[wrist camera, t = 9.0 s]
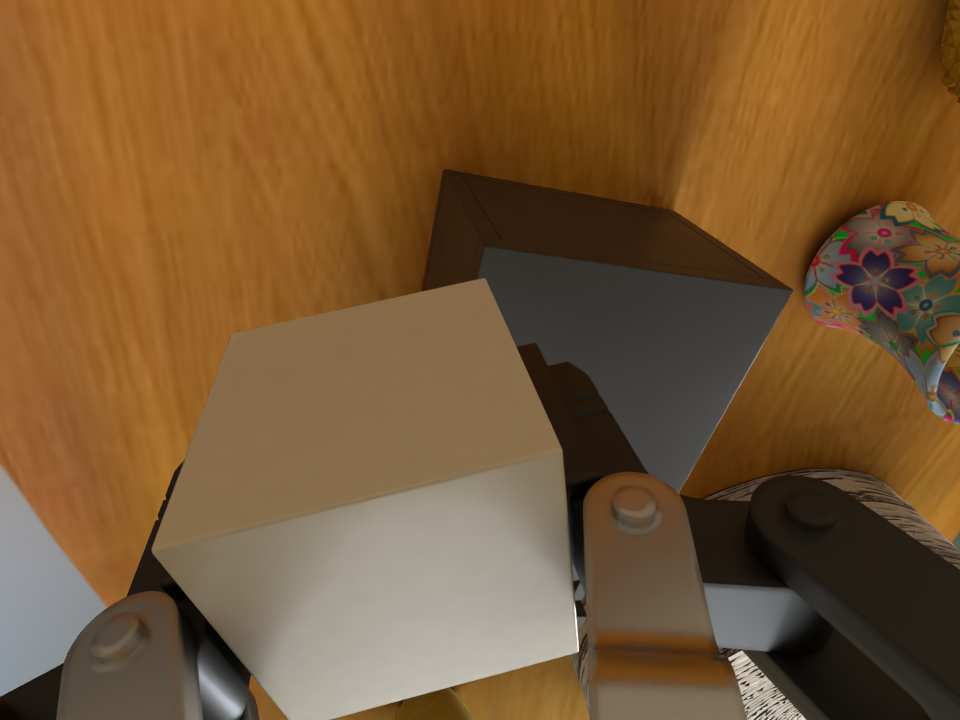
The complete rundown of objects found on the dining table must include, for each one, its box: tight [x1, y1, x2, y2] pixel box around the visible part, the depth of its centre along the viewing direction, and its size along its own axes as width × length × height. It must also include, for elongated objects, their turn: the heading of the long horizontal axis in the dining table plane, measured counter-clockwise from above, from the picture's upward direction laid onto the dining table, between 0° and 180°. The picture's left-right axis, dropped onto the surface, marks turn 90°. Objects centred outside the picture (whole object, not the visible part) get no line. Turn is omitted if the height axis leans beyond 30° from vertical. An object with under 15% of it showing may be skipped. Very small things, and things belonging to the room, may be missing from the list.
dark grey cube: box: [422, 169, 793, 494], centre depth 27 cm, size 15×13×10 cm
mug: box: [804, 201, 960, 424], centre depth 29 cm, size 11×9×10 cm
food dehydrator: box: [570, 469, 960, 720], centre depth 47 cm, size 38×34×18 cm
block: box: [152, 278, 579, 720], centre depth 9 cm, size 4×4×4 cm
